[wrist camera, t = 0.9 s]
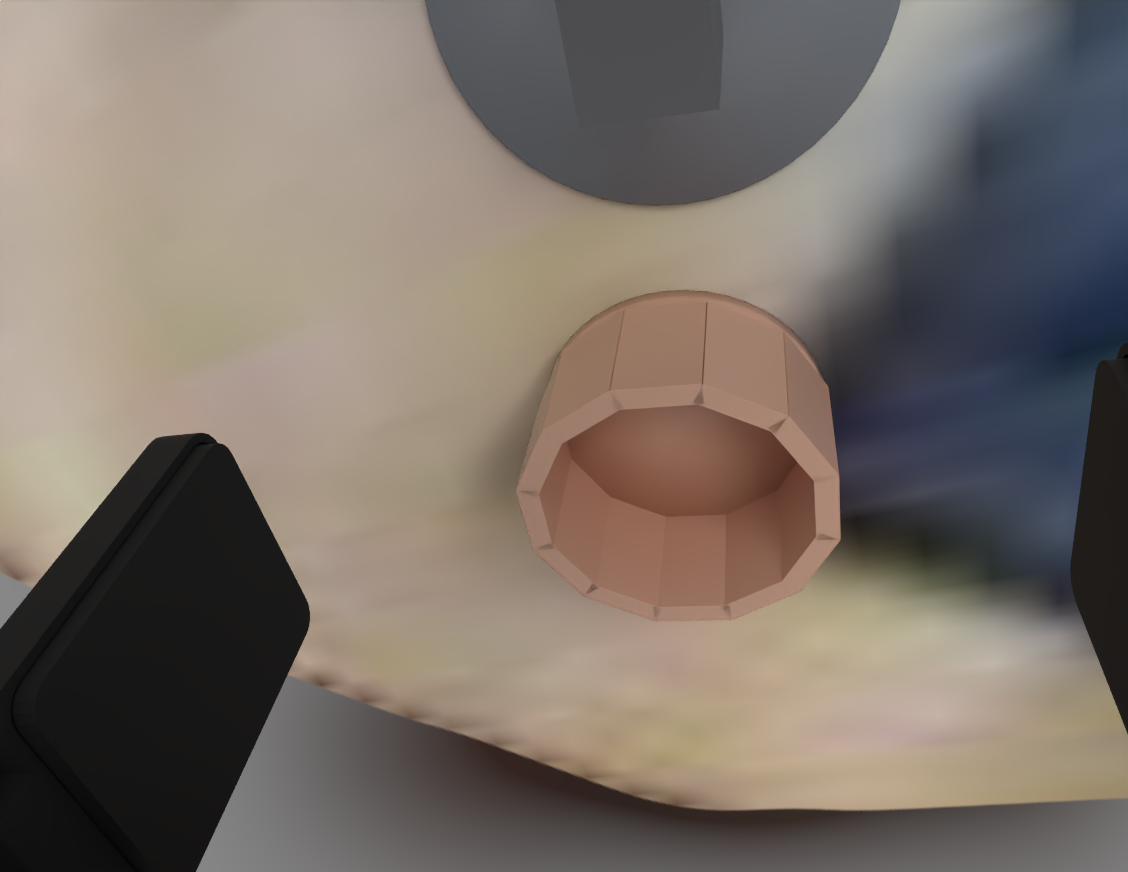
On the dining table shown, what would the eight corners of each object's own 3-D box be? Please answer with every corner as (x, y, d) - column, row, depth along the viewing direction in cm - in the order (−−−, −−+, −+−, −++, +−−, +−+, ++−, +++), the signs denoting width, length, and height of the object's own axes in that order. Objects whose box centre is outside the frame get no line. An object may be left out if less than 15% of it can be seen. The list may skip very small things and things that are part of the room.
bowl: (521, 305, 36) (488, 399, 31) (823, 276, 33) (836, 373, 29) (574, 518, 42) (553, 622, 38) (830, 508, 40) (842, 618, 35)
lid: (364, -256, 26) (268, -234, 20) (912, -394, 22) (962, -409, 17) (489, 217, 34) (443, 318, 29) (900, 167, 31) (932, 271, 26)
